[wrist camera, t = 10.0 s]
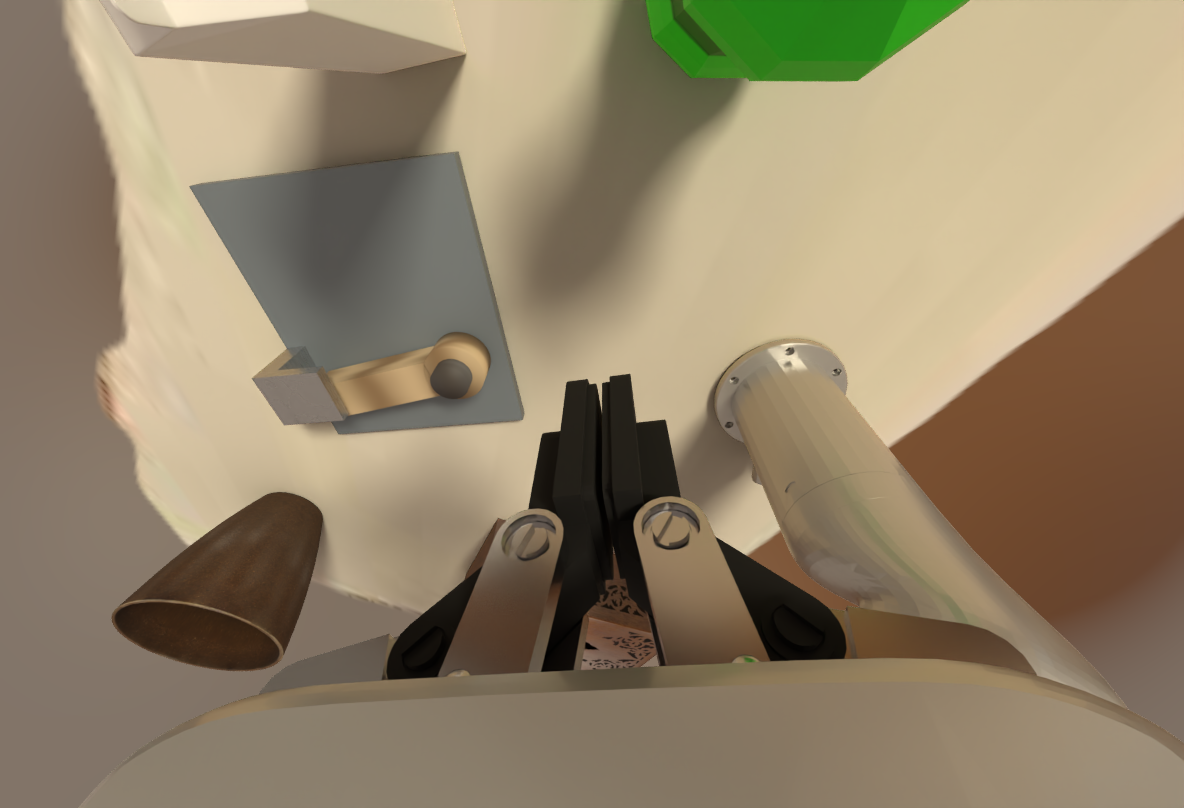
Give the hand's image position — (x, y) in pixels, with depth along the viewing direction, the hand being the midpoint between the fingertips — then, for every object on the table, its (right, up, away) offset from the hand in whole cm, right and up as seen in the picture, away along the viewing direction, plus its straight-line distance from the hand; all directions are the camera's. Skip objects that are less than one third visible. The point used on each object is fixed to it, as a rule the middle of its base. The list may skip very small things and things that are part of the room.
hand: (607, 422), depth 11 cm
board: (-19, +8, +27) cm, 34 cm away
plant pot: (-39, -13, +44) cm, 60 cm away
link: (-17, +4, +29) cm, 34 cm away
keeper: (-25, +5, +30) cm, 39 cm away
